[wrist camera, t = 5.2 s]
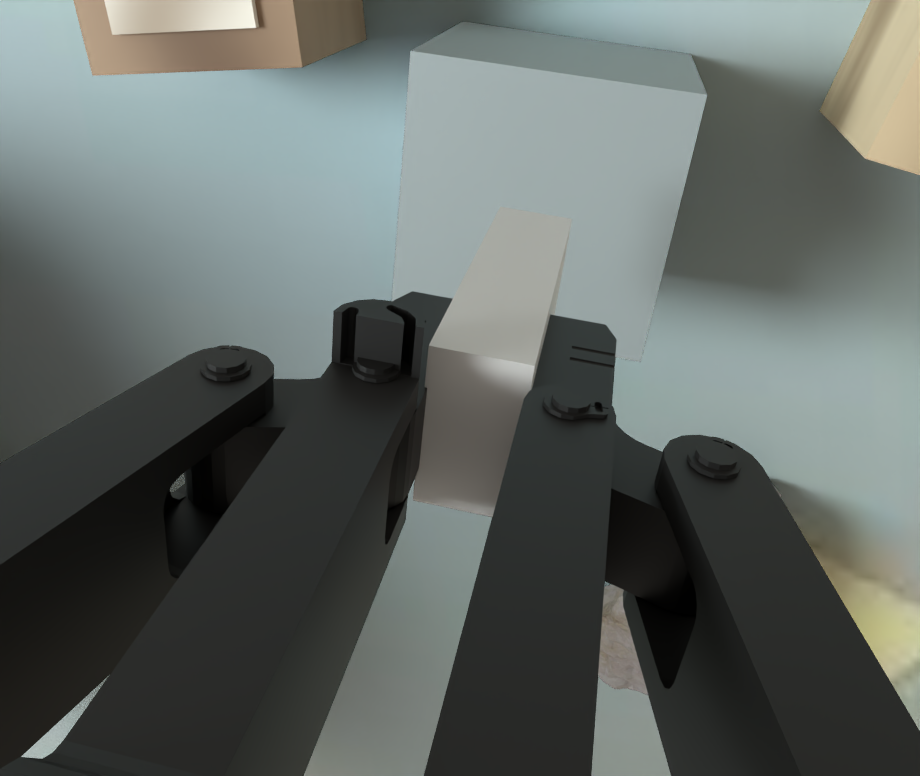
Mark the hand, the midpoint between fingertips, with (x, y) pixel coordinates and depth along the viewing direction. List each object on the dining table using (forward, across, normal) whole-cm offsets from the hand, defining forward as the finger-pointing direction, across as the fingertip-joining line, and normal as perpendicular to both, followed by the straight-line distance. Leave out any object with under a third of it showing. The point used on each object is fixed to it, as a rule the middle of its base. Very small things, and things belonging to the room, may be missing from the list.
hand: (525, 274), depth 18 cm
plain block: (+11, 0, 0) cm, 11 cm away
